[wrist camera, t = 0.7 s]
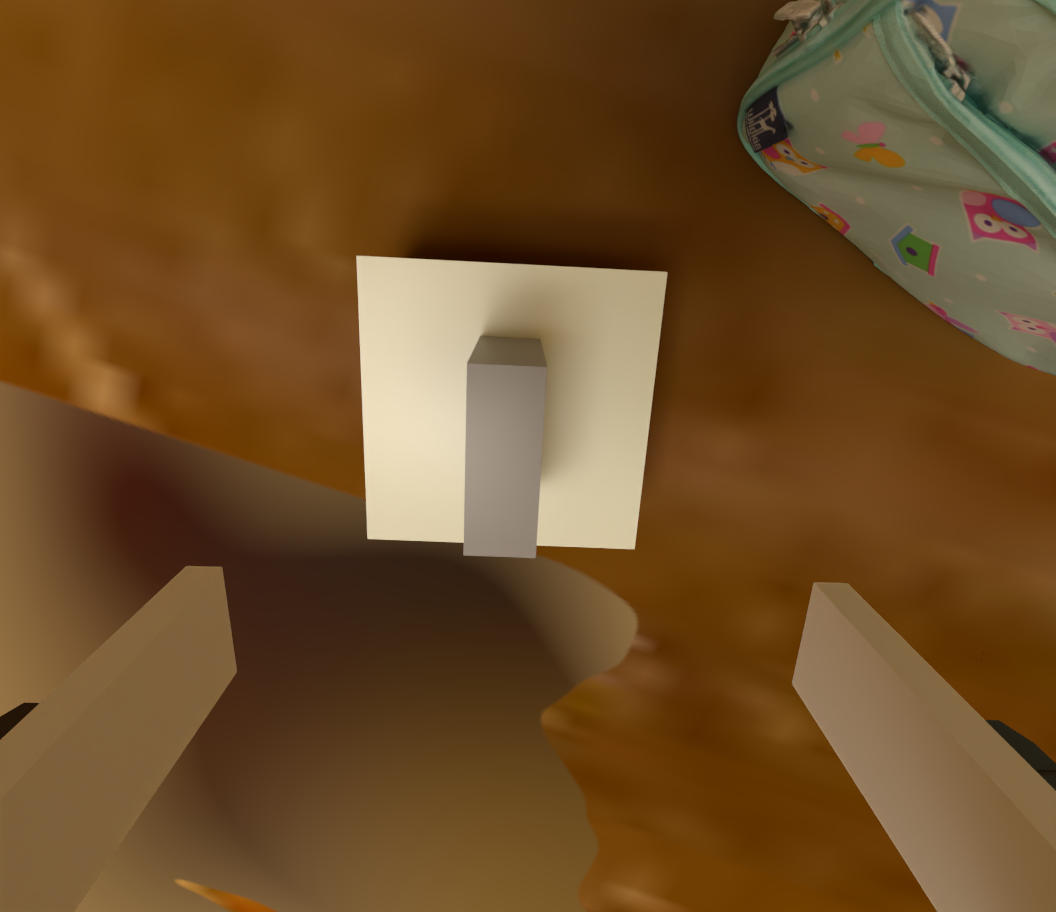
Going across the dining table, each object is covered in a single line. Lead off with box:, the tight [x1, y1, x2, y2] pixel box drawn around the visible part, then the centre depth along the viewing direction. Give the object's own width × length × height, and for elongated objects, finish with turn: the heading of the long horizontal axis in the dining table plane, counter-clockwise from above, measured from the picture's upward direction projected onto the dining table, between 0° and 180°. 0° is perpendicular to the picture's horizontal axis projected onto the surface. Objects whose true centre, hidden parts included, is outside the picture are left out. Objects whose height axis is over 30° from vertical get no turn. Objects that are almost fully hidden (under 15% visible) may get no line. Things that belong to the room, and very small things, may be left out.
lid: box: [356, 256, 668, 558], centre depth 28 cm, size 15×15×10 cm
